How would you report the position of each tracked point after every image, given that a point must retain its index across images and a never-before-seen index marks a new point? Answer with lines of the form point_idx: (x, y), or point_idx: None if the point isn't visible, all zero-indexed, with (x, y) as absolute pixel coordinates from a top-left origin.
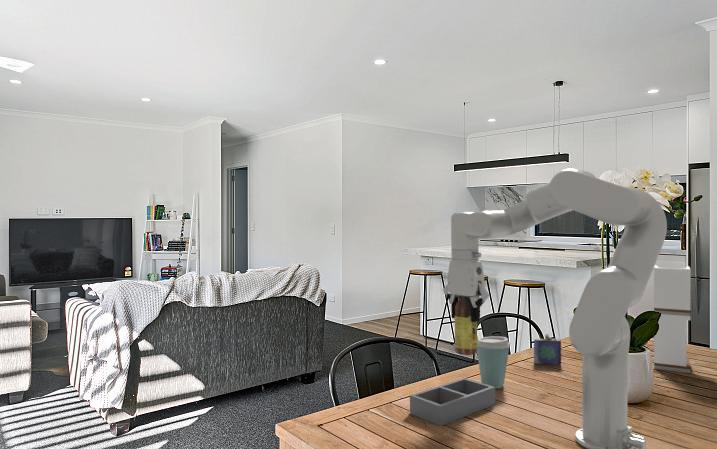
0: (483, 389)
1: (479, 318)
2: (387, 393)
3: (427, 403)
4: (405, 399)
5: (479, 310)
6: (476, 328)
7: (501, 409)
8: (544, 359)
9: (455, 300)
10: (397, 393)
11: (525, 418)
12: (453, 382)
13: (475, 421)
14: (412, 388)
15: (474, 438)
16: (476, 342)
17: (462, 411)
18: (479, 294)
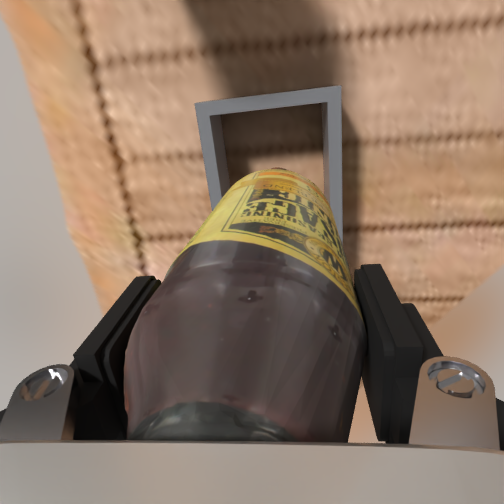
0: (330, 145)
1: (382, 274)
2: (95, 274)
3: None
4: (155, 267)
5: (436, 354)
6: (341, 247)
7: (372, 102)
8: None
9: (75, 439)
10: (106, 255)
11: (468, 99)
12: (215, 176)
13: (374, 233)
14: (86, 197)
15: (432, 302)
16: (334, 219)
17: None
18: (455, 467)
